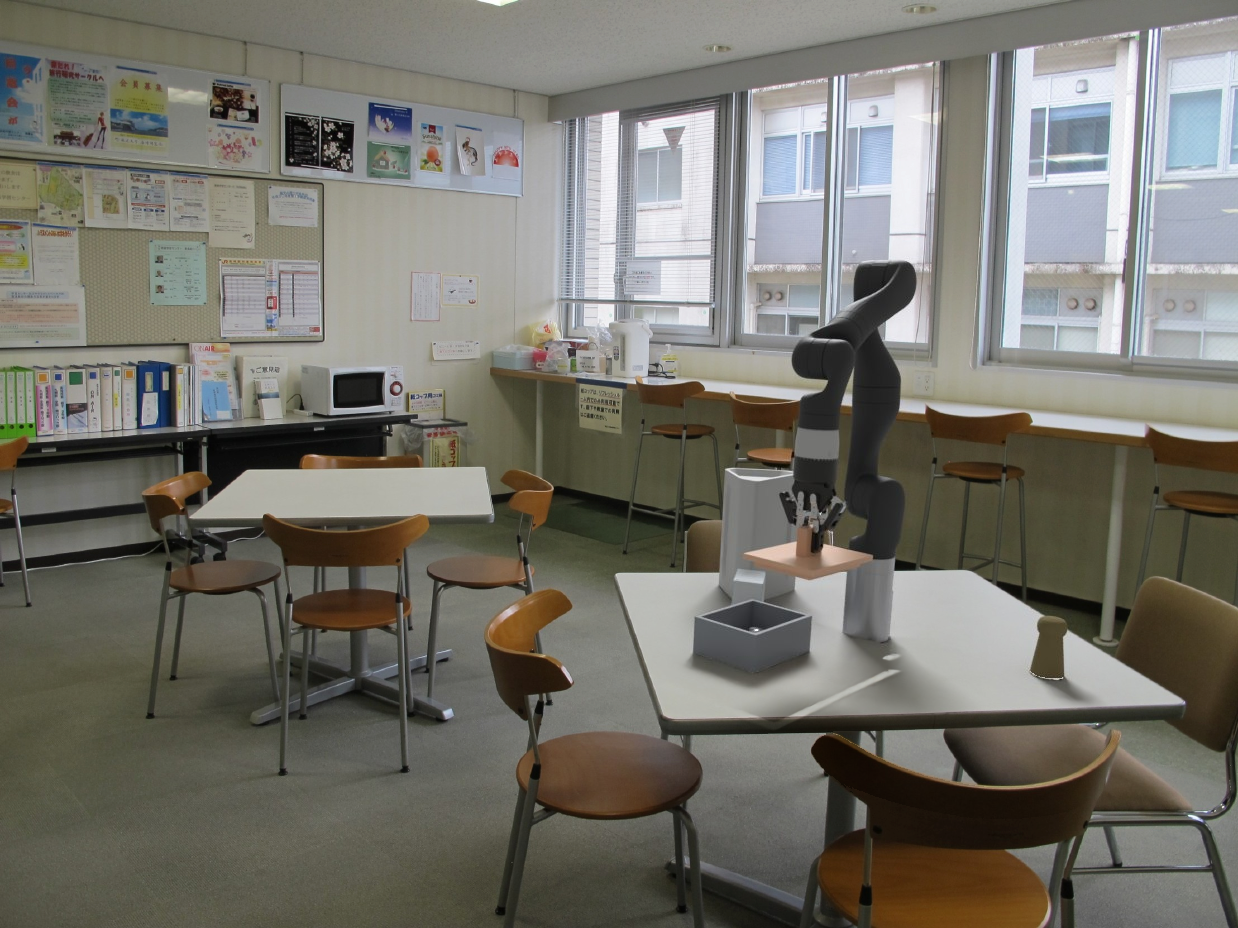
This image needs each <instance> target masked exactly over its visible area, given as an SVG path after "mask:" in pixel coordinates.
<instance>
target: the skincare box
mask: <svg viewBox="0 0 1238 928" xmlns="http://www.w3.org/2000/svg"><path fill="white" fill-rule="evenodd" d="M765 578H766V572H763V571H755V570H746V569H737V572H736V575H735V578H734V580H733V589H732V599H731V604H730V606H731V605H734V604H737V603H741V602H744V601H747V600H751V599H754V600H758V601H761V602H765V600H764V594H765Z"/></svg>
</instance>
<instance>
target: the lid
mask: <svg viewBox="0 0 1238 928" xmlns="http://www.w3.org/2000/svg"><path fill="white" fill-rule="evenodd" d="M812 532H814V531H813V523H812V524H811V523H810V525H806V526H802V527H798V530H797V542H792V543H788V544H783V545H779V546H774V547H770V548H765V549H761V550H756V551H752V552H747V553H743V559H745V560H749V561H753V562H755V566H756V567H760V568H764V569H768V570H772V571H775V572H779V573H783V574H787V575H791V576H795V578H799V579H802V580H805V581H806V580H807V581H813V580H817V579H820V578H824V577H828V576H832V575H834V574H838V573H842V572H847V570H850V569H854V568H857V567H860V564H862V563H866V562H870V561H873V555H870V554H866V553H861V552H857V551H852V550H848V549H849V548H843V547H839V546H834V545H829V544H826V543H824V545H823V549H822V550H821V551H820V552H819V553H811V539H812Z"/></svg>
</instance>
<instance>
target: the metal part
mask: <svg viewBox="0 0 1238 928" xmlns="http://www.w3.org/2000/svg"><path fill="white" fill-rule="evenodd" d="M763 630H764V629H763V628H759V627H751V628H749V632H753V633H757V632H760V631H763Z"/></svg>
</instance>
